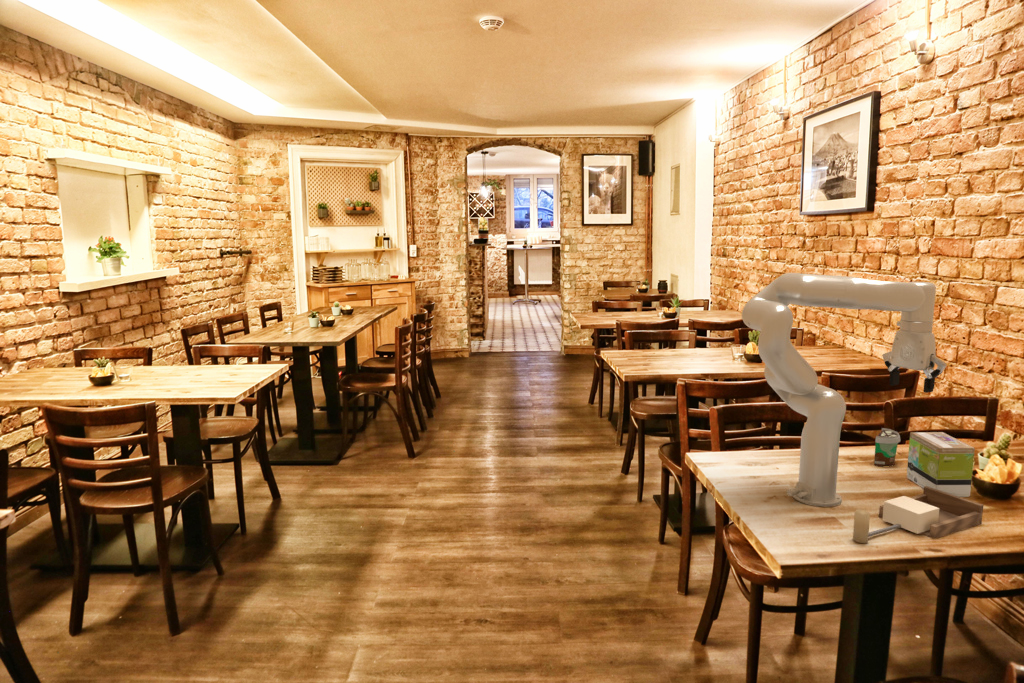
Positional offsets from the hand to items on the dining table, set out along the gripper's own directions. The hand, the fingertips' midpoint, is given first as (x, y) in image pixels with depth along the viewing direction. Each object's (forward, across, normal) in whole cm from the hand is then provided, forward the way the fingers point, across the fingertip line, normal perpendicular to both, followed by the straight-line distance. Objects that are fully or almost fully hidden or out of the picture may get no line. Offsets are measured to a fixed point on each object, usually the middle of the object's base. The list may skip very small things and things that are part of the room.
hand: (910, 388), depth 183 cm
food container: (+31, -18, +20) cm, 41 cm away
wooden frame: (+30, +15, -12) cm, 36 cm away
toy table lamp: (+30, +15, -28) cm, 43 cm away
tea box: (+31, +2, +13) cm, 33 cm away
